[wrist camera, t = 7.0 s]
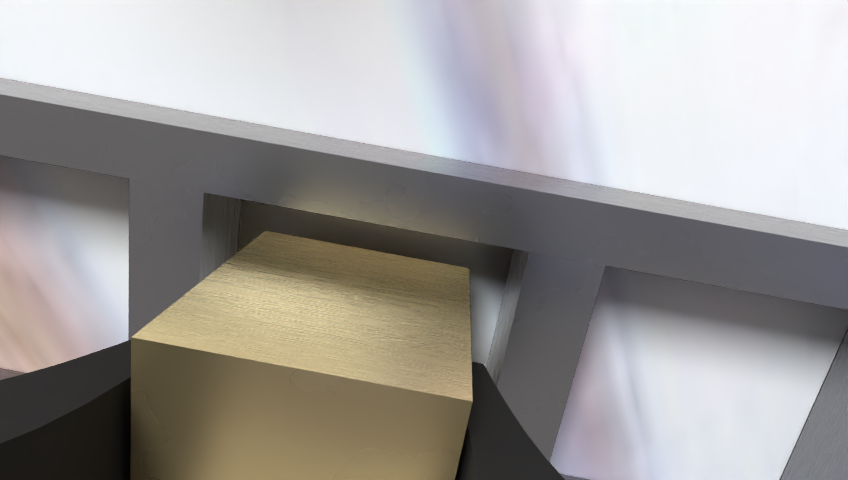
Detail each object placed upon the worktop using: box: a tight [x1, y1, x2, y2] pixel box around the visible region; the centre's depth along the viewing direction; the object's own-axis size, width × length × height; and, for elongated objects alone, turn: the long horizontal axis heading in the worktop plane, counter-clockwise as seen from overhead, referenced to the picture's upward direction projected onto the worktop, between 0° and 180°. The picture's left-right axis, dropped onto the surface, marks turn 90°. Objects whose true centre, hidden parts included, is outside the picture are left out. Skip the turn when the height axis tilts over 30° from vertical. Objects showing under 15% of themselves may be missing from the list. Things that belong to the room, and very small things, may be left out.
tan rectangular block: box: [130, 231, 473, 480], centre depth 10 cm, size 4×4×5 cm
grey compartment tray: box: [0, 78, 848, 480], centre depth 13 cm, size 24×9×2 cm, turn 80°
